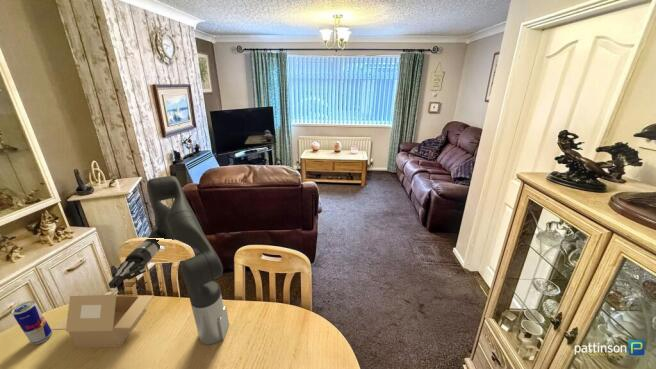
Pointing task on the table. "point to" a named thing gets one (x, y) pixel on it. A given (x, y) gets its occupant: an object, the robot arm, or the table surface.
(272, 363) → the table surface
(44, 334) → the beverage can
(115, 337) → the carton
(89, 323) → the lid flap
